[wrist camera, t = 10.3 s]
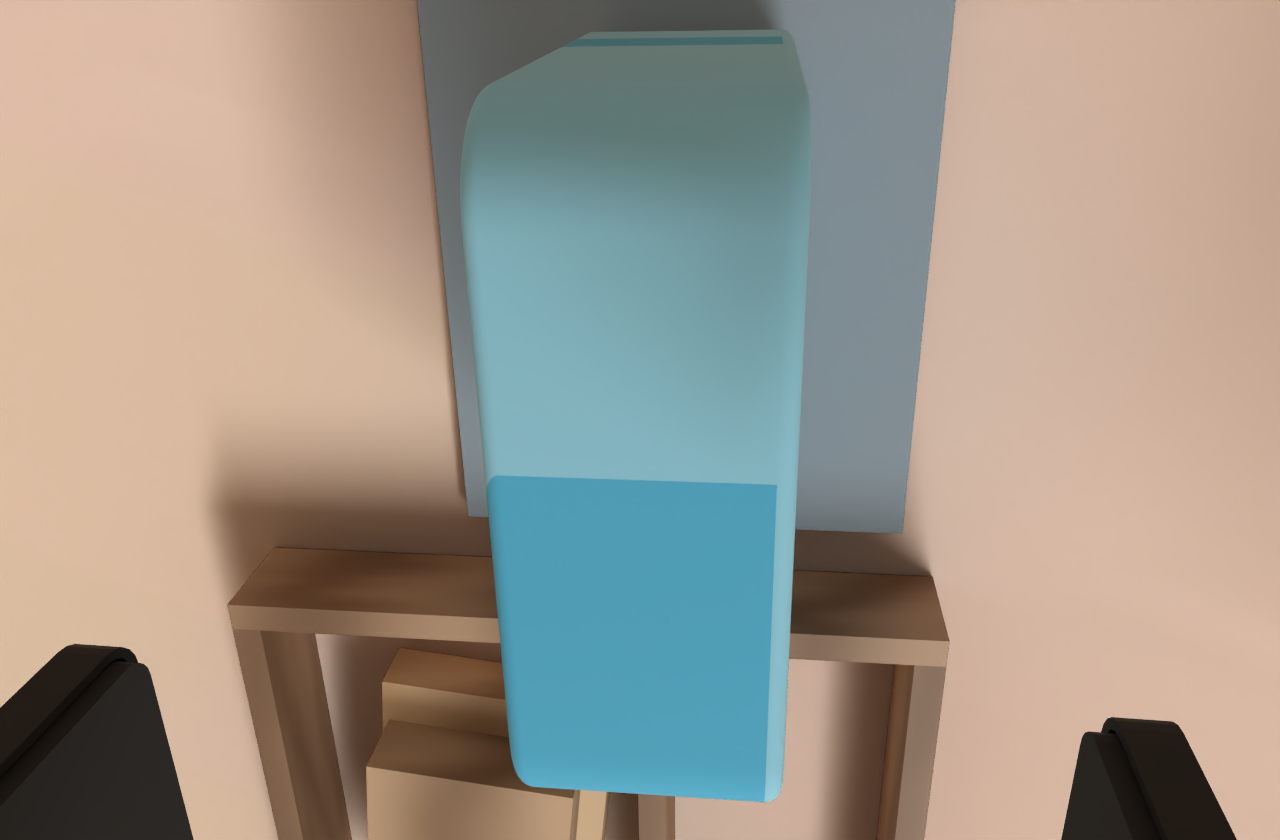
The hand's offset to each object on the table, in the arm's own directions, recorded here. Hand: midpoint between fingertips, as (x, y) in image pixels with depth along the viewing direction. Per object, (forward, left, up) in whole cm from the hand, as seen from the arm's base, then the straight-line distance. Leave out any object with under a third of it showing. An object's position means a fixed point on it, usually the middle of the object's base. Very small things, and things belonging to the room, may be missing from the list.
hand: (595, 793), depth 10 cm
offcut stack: (+6, +17, -18) cm, 26 cm away
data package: (0, 0, -17) cm, 17 cm away
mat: (0, 0, -18) cm, 18 cm away
